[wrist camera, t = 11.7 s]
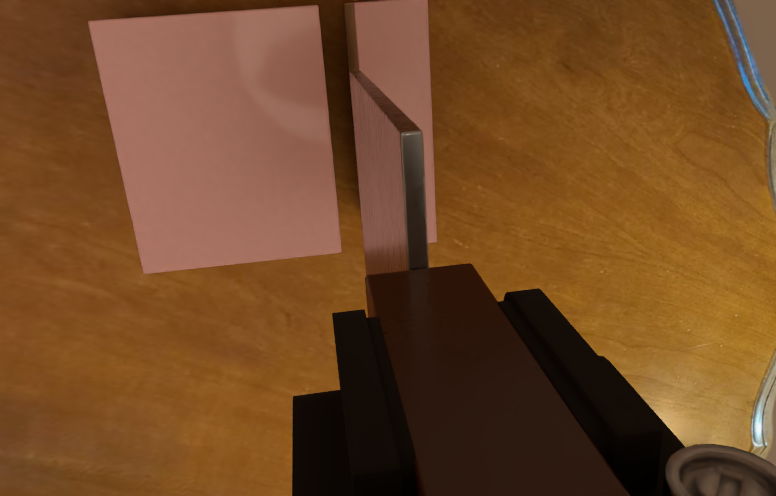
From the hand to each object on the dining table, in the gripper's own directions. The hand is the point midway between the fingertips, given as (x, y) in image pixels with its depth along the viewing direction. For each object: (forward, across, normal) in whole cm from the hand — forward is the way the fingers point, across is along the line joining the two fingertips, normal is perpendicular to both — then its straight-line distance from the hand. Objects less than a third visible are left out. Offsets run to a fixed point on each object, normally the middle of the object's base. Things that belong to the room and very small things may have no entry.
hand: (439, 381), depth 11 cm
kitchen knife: (+13, 0, 0) cm, 13 cm away
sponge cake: (+28, +6, 0) cm, 29 cm away
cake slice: (+28, -3, 0) cm, 28 cm away
